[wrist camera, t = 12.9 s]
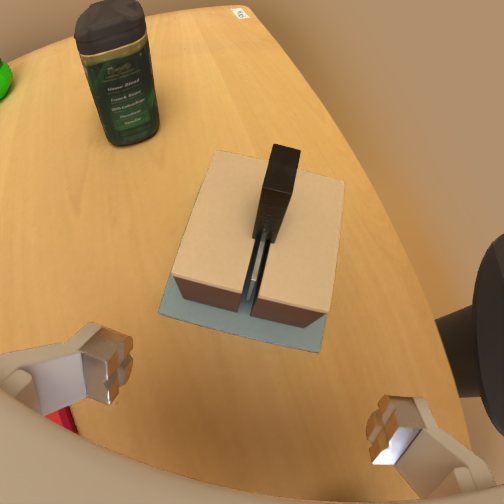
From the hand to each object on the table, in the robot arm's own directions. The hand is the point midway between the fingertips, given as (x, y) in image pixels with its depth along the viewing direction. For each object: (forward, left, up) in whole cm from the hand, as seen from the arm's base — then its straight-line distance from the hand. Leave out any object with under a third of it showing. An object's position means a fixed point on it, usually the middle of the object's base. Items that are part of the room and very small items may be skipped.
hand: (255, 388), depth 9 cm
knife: (-4, -12, -18) cm, 22 cm away
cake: (-4, -12, -21) cm, 24 cm away
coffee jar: (+10, -34, -21) cm, 41 cm away
